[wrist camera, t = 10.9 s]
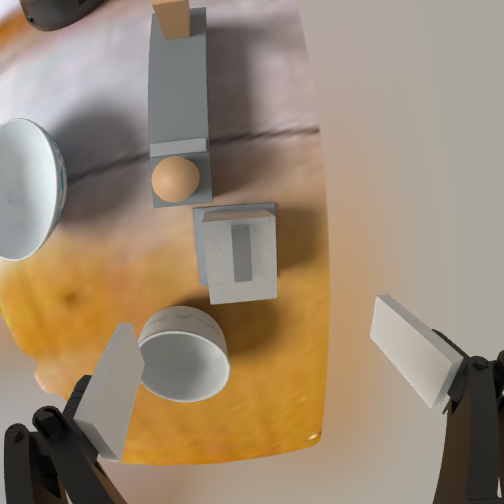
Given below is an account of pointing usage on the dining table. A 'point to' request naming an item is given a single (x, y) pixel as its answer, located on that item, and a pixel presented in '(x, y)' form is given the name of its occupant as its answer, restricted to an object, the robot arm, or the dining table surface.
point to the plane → (178, 105)
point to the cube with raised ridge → (240, 255)
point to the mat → (198, 218)
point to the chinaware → (28, 188)
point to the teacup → (183, 355)
